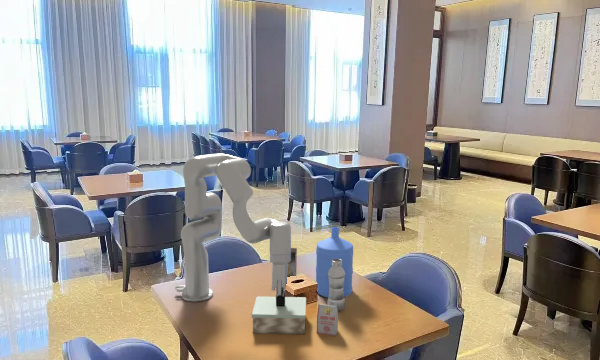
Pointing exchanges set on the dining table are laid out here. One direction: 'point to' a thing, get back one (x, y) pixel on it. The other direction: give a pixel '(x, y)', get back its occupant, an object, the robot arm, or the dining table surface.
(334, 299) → the plastic bottle
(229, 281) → the dining table surface
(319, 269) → the water jug
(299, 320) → the box
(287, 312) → the lid
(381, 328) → the dining table surface
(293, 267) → the coffee box
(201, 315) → the dining table surface
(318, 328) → the tea bag
